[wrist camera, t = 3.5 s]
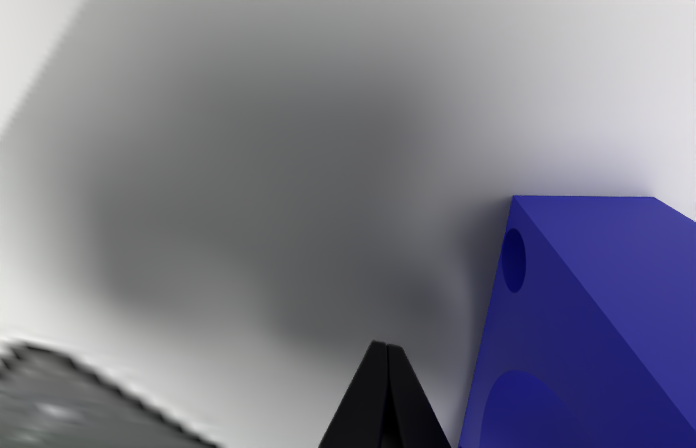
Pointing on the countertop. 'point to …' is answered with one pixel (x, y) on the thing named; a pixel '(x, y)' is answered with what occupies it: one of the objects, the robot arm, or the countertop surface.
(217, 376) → the countertop surface
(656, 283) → the cable clip
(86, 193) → the countertop surface
